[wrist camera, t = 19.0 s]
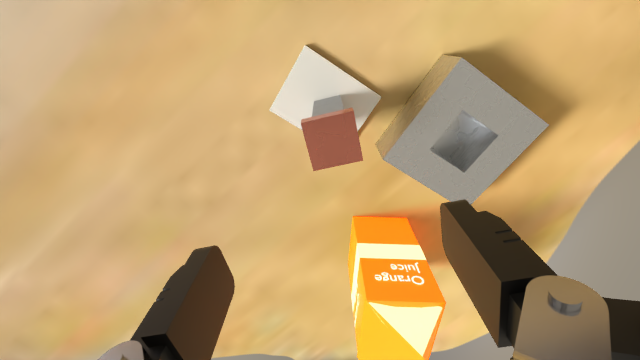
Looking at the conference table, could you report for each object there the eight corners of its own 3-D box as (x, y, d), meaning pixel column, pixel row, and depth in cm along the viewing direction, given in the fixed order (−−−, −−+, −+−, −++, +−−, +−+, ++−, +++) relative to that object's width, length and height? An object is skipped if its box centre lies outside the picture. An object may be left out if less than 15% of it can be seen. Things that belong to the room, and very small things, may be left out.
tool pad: (270, 108, 34) (269, 110, 34) (305, 45, 31) (304, 45, 31) (341, 151, 37) (341, 153, 36) (380, 95, 34) (381, 97, 33)
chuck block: (375, 144, 36) (382, 159, 32) (441, 54, 32) (461, 57, 27) (448, 190, 39) (465, 210, 34) (519, 113, 34) (549, 124, 30)
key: (307, 97, 33) (300, 123, 23) (344, 88, 33) (353, 110, 22) (316, 132, 35) (313, 171, 25) (351, 124, 34) (363, 160, 24)
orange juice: (407, 217, 41) (474, 359, 23) (398, 266, 45) (449, 421, 27) (351, 215, 41) (373, 356, 23) (346, 265, 45) (362, 418, 27)
